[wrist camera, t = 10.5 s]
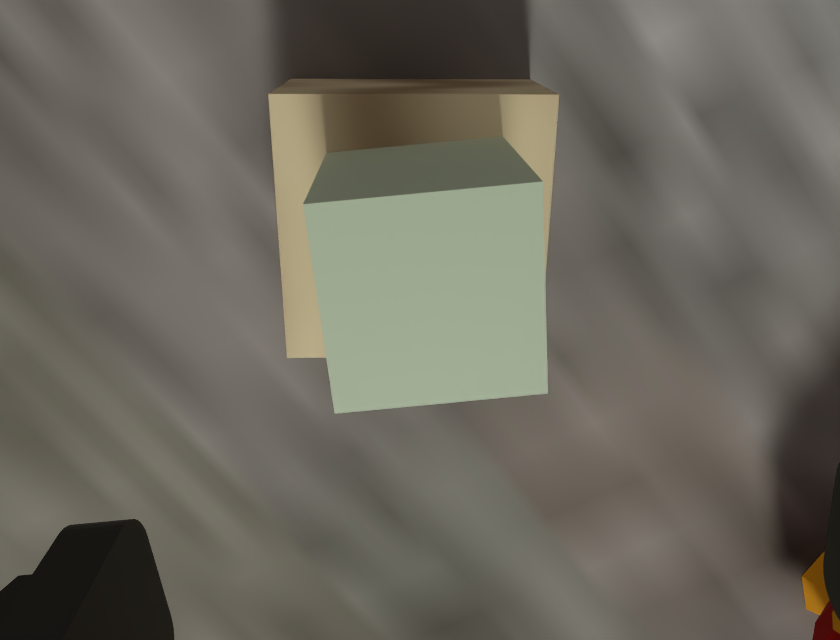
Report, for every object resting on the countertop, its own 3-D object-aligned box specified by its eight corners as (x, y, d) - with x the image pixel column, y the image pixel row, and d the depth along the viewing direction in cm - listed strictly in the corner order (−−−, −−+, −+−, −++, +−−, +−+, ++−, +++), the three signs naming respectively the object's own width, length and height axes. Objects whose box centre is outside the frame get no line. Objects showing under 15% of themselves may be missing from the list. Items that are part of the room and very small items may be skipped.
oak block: (529, 78, 25) (559, 94, 20) (515, 298, 28) (539, 355, 24) (291, 78, 25) (268, 93, 20) (305, 300, 28) (287, 357, 23)
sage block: (502, 136, 21) (542, 181, 15) (509, 300, 23) (548, 393, 17) (326, 152, 21) (302, 204, 15) (348, 315, 23) (334, 413, 17)
